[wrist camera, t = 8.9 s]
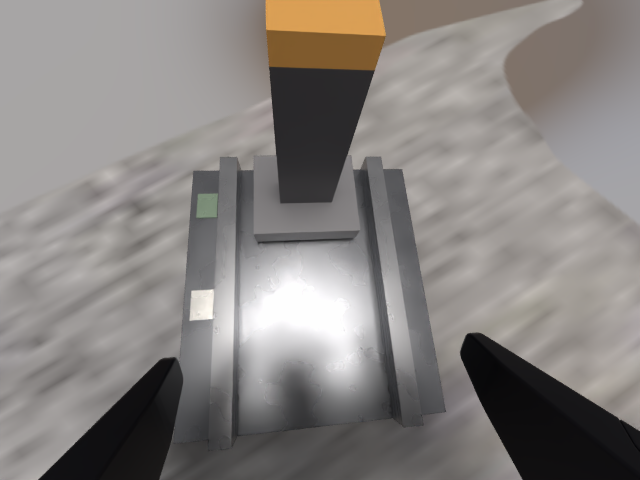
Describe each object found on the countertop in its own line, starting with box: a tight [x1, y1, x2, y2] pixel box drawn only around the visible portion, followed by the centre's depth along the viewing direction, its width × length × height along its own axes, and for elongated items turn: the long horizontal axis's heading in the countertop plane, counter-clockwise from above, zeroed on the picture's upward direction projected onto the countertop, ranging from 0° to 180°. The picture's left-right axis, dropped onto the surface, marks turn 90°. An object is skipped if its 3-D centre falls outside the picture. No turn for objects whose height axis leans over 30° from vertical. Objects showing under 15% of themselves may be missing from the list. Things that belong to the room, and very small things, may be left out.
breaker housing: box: [173, 157, 446, 451], centre depth 17 cm, size 15×14×4 cm
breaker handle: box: [254, 0, 386, 242], centre depth 12 cm, size 5×6×11 cm
